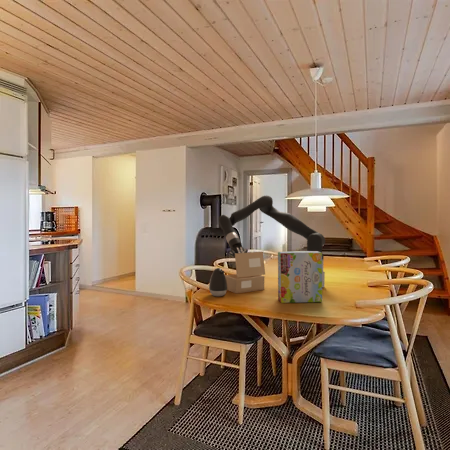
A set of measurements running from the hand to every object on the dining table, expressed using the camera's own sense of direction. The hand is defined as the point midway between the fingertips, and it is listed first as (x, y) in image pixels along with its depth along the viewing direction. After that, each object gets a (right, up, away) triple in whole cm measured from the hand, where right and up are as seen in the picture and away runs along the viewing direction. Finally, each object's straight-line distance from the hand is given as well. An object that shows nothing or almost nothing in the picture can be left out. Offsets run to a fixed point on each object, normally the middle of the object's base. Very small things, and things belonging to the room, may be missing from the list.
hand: (244, 262), depth 199 cm
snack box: (+27, -17, -26) cm, 41 cm away
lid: (+3, 0, -5) cm, 6 cm away
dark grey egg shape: (-15, -17, -15) cm, 27 cm away
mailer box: (0, -16, +1) cm, 16 cm away
